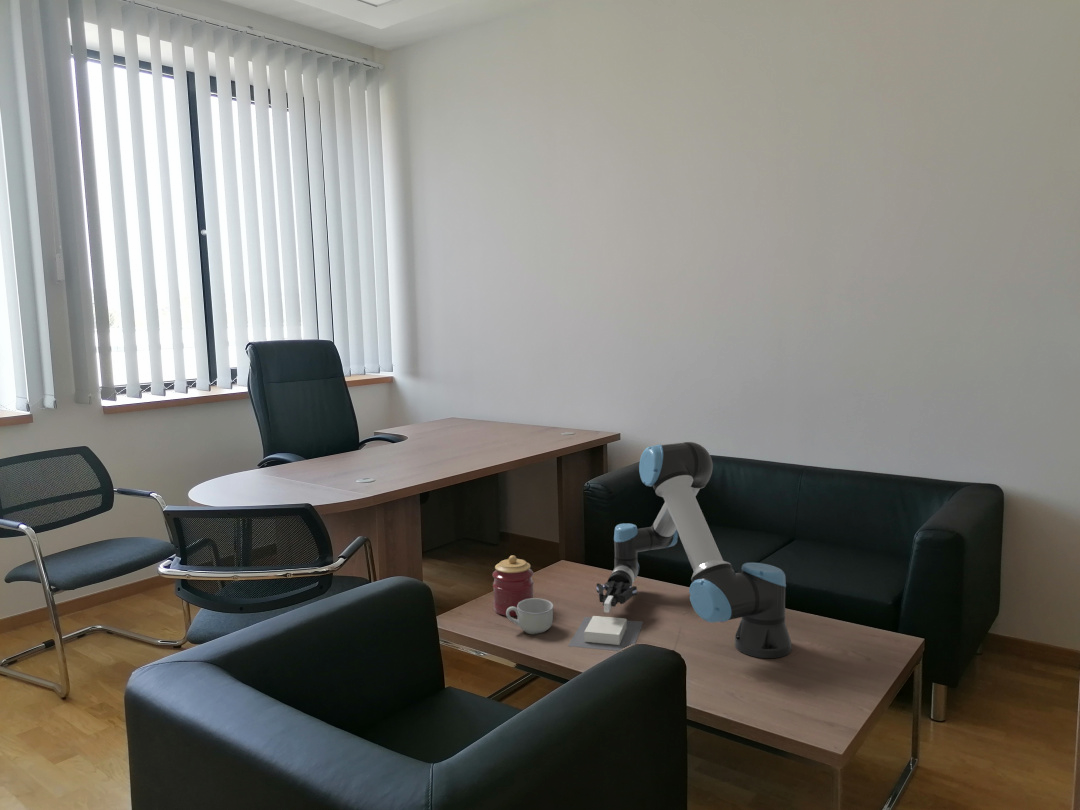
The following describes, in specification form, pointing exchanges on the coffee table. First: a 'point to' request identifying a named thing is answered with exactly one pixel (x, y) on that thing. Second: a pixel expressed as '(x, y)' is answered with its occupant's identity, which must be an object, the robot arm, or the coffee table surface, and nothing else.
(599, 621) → the tile
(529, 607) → the teacup
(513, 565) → the canister
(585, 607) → the coffee table surface
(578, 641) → the mat
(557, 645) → the coffee table surface
